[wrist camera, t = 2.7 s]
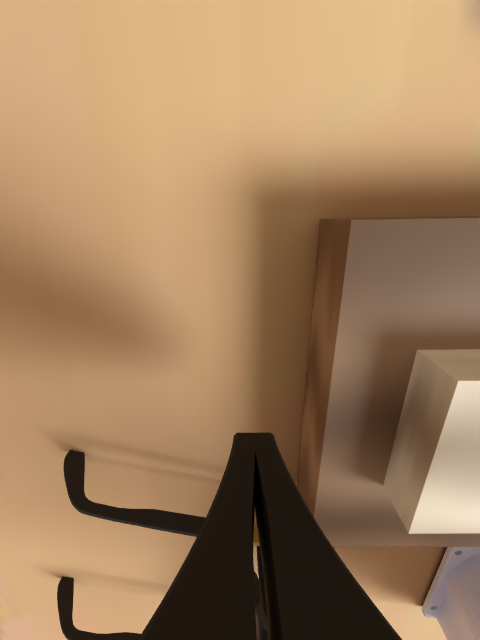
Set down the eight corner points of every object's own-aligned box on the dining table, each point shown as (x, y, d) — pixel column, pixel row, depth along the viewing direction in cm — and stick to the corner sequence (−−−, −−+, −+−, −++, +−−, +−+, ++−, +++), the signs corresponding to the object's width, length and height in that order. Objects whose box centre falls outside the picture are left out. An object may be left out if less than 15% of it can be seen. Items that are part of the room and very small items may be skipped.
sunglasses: (73, 444, 17) (8, 532, 12) (303, 491, 18) (325, 586, 13) (65, 572, 22) (16, 670, 17) (247, 601, 23) (248, 699, 18)
